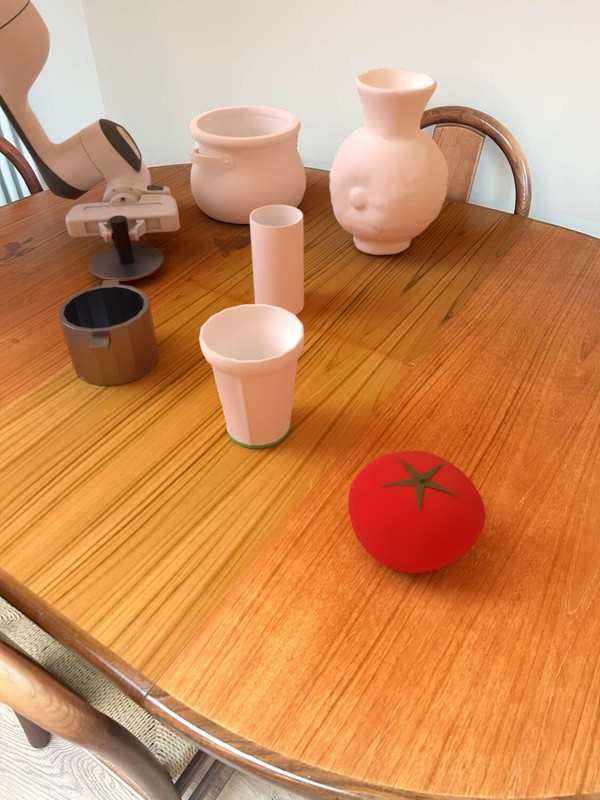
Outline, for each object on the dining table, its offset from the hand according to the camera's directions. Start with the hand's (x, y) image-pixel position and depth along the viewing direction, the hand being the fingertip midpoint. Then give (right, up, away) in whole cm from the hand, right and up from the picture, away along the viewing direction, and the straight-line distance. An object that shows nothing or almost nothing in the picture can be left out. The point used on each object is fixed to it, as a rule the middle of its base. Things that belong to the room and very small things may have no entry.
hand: (120, 237), depth 115 cm
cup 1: (+28, -13, -4) cm, 31 cm away
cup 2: (+26, -32, -28) cm, 50 cm away
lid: (0, -4, +4) cm, 5 cm away
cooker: (+4, -23, -16) cm, 28 cm away
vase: (+47, +1, +12) cm, 49 cm away
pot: (+21, +14, +27) cm, 37 cm away
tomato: (+43, -44, -42) cm, 75 cm away
